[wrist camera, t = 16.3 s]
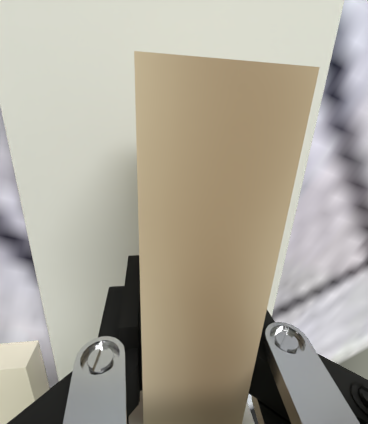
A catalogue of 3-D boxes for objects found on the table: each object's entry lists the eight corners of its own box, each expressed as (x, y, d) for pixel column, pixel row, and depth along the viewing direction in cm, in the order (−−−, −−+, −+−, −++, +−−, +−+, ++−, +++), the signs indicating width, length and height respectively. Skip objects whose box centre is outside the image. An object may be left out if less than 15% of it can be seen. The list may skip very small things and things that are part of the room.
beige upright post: (109, 389, 13) (89, 533, 9) (78, 82, 8) (-18, 38, 3) (231, 375, 14) (271, 498, 10) (279, 96, 9) (422, 75, 4)
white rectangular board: (70, 385, 18) (64, 408, 17) (-8, -33, 9) (-35, -59, 8) (248, 365, 20) (256, 383, 19) (321, 9, 11) (345, -5, 10)
